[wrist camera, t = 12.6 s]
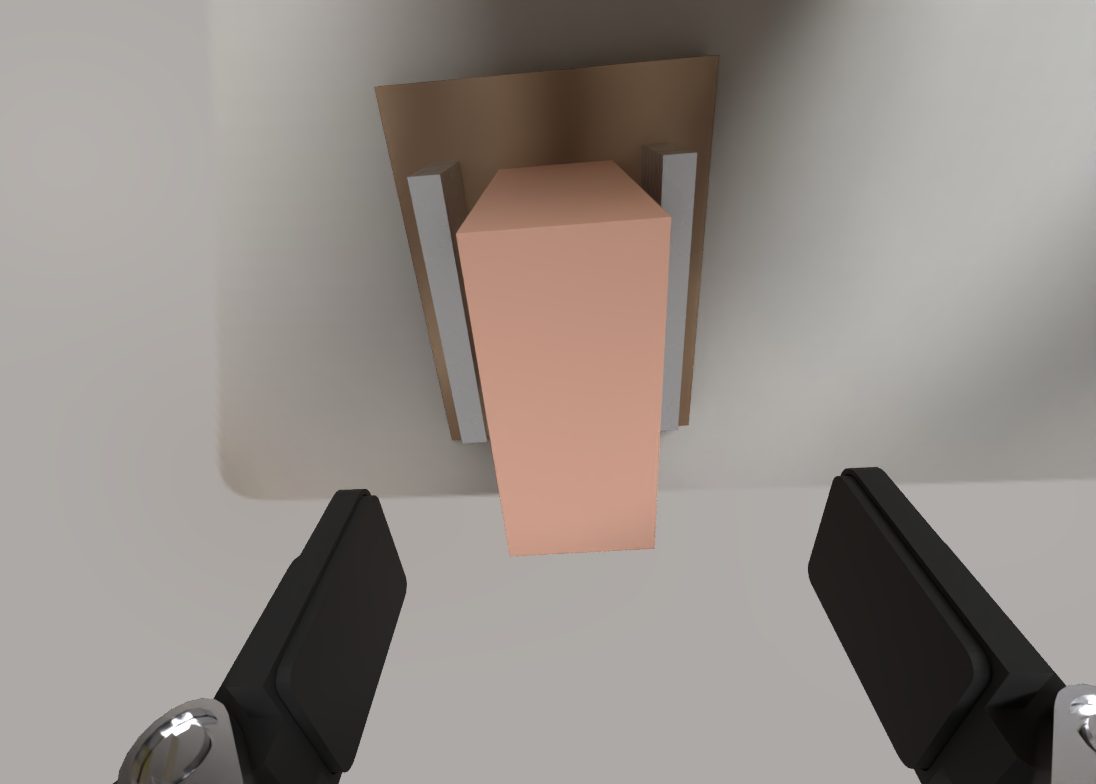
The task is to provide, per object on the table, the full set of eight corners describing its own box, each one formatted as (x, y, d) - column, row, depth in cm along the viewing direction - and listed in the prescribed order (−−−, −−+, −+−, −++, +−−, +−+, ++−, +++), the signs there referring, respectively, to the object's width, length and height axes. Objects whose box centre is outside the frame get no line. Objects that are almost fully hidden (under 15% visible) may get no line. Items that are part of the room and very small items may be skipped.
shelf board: (708, 57, 21) (719, 54, 20) (682, 411, 30) (688, 425, 29) (384, 87, 22) (374, 86, 20) (456, 425, 31) (452, 440, 29)
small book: (612, 159, 22) (671, 216, 11) (613, 378, 27) (654, 548, 17) (498, 169, 22) (455, 233, 12) (523, 384, 27) (509, 556, 17)
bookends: (670, 142, 21) (697, 152, 17) (659, 382, 27) (677, 429, 24) (432, 163, 22) (407, 177, 18) (474, 395, 28) (462, 443, 24)
